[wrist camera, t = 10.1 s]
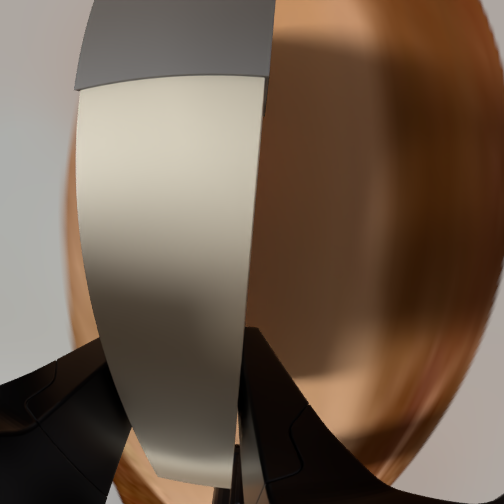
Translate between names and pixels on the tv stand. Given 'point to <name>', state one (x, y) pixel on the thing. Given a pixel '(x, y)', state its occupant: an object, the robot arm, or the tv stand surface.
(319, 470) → the robot arm
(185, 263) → the curved white panel
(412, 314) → the tv stand surface
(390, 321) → the tv stand surface
